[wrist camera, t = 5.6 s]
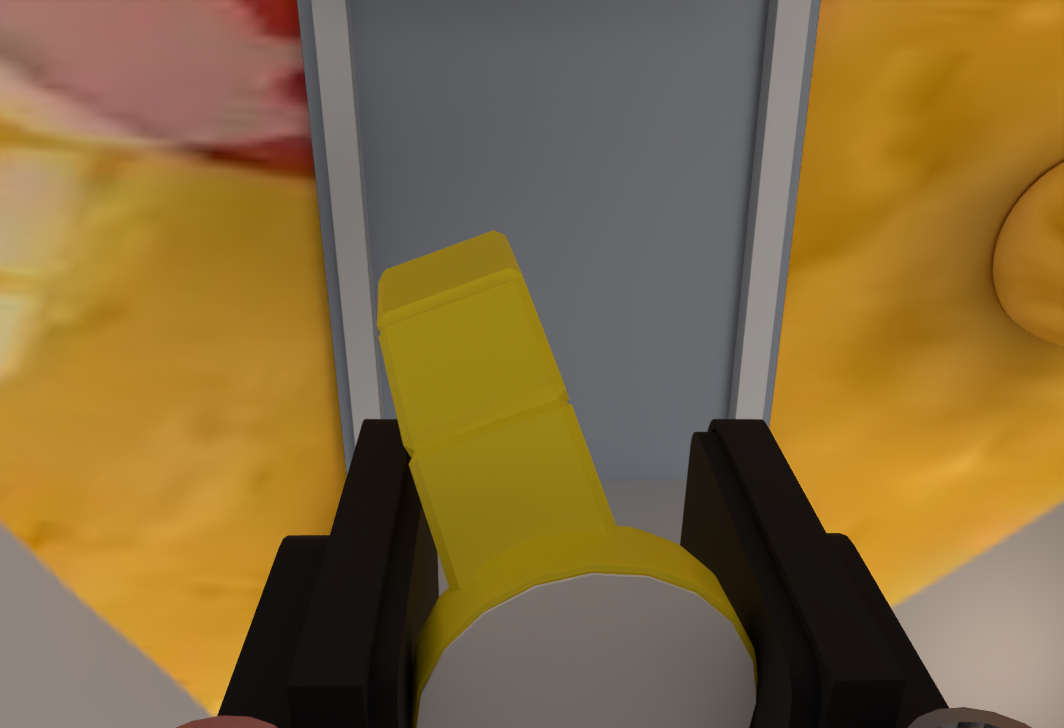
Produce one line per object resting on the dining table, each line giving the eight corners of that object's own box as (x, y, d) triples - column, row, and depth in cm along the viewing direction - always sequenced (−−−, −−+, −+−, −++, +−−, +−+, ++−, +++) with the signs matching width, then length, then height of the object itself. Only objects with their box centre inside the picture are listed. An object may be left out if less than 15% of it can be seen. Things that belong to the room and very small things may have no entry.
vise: (892, -770, 18) (1175, -1280, 10) (736, 603, 32) (809, 802, 25) (227, -784, 17) (28, -1325, 10) (368, 614, 32) (329, 818, 24)
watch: (657, 534, 14) (830, 905, 8) (485, 596, 14) (548, 1007, 8) (535, 162, 11) (673, 351, 6) (324, 239, 11) (265, 499, 6)
